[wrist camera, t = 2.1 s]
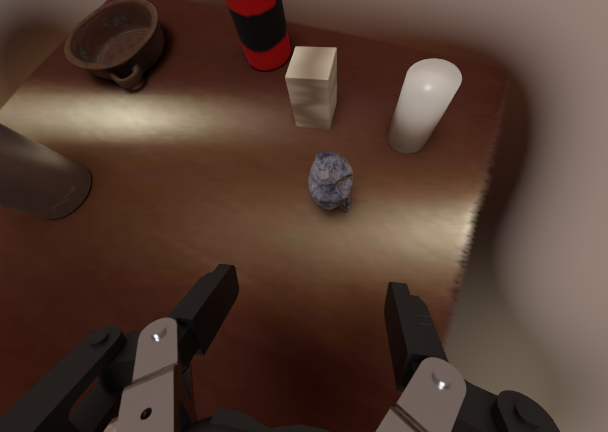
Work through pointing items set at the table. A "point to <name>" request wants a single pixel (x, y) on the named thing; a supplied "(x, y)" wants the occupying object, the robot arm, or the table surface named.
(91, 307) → the table surface
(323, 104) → the birch block
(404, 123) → the ceramic cylinder
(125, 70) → the dish
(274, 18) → the soda can
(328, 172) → the fossil stone
